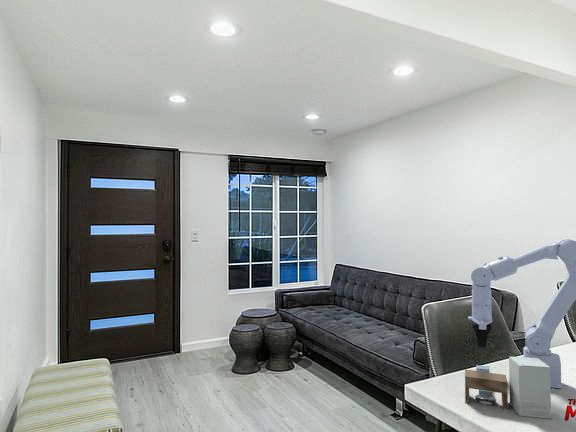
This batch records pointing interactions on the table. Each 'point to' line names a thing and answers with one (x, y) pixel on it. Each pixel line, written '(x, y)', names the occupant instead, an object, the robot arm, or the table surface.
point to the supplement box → (530, 387)
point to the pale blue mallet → (483, 369)
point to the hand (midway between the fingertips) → (481, 346)
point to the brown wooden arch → (486, 384)
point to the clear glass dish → (485, 400)
